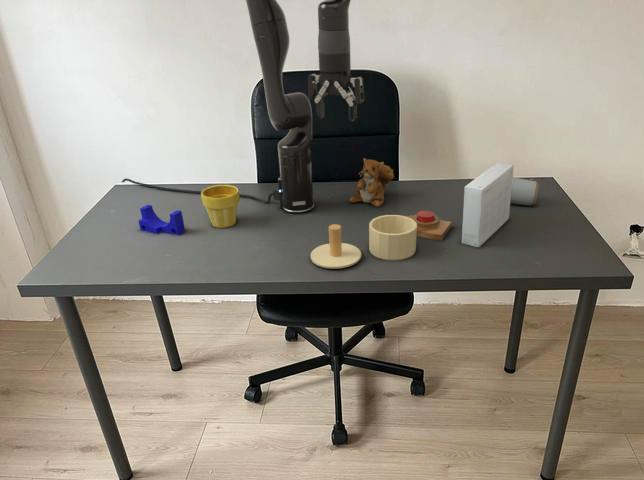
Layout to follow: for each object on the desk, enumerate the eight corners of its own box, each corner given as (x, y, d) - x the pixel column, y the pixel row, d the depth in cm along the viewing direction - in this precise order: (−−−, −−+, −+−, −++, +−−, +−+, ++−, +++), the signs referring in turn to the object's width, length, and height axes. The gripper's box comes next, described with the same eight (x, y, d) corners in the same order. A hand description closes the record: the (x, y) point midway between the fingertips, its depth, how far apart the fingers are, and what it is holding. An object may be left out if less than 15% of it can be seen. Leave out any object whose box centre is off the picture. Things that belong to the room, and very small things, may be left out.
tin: (361, 254, 137) (361, 229, 134) (380, 235, 146) (380, 211, 143) (406, 264, 132) (406, 238, 129) (421, 243, 142) (423, 219, 138)
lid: (301, 264, 133) (299, 232, 129) (325, 243, 143) (324, 212, 139) (347, 275, 128) (346, 242, 124) (369, 252, 138) (369, 221, 134)
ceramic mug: (535, 209, 159) (539, 184, 155) (506, 206, 161) (509, 182, 157) (536, 197, 167) (540, 173, 164) (509, 194, 170) (512, 170, 166)
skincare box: (490, 215, 156) (497, 161, 148) (509, 219, 153) (516, 165, 146) (458, 243, 141) (464, 185, 134) (478, 248, 139) (485, 189, 131)
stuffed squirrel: (347, 203, 166) (346, 161, 159) (370, 188, 176) (370, 149, 170) (375, 210, 161) (376, 167, 155) (397, 194, 172) (398, 153, 165)
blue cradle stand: (140, 230, 153) (136, 210, 150) (151, 224, 156) (147, 204, 153) (174, 237, 148) (170, 217, 145) (185, 230, 152) (181, 210, 149)
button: (415, 221, 146) (415, 215, 145) (420, 215, 150) (420, 209, 149) (430, 224, 145) (431, 218, 144) (435, 218, 148) (436, 212, 147)
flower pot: (249, 218, 158) (245, 186, 153) (231, 232, 150) (226, 199, 145) (218, 213, 161) (213, 182, 156) (198, 228, 153) (193, 195, 148)
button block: (398, 233, 147) (398, 221, 146) (410, 220, 154) (410, 208, 153) (441, 240, 143) (442, 228, 141) (451, 227, 150) (452, 215, 148)
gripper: (368, 49, 128) (368, 118, 136) (315, 46, 133) (318, 113, 142) (354, 53, 122) (355, 126, 130) (300, 50, 128) (304, 120, 136)
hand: (336, 119), depth 136 cm, fingers open, 8 cm apart
